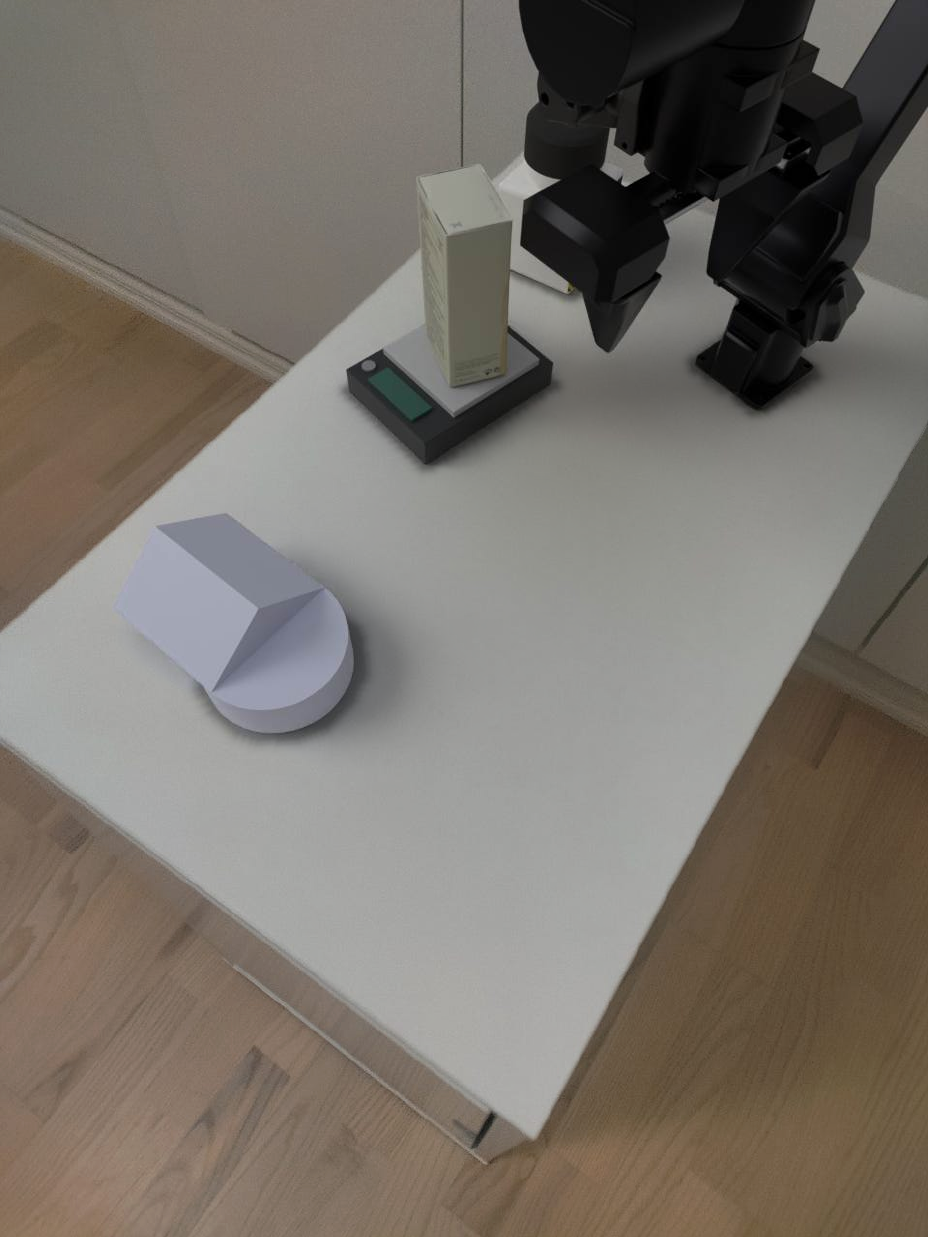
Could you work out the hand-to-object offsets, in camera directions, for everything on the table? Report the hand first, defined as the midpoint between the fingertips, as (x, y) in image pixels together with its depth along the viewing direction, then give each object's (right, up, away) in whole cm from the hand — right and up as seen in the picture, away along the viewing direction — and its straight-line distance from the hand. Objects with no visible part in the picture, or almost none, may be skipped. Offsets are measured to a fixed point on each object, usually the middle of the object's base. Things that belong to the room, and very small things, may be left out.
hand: (660, 311), depth 50 cm
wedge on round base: (-24, -19, +4) cm, 31 cm away
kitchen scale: (-12, -1, +14) cm, 19 cm away
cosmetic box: (-11, +1, +13) cm, 17 cm away
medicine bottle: (-4, +12, +22) cm, 26 cm away
